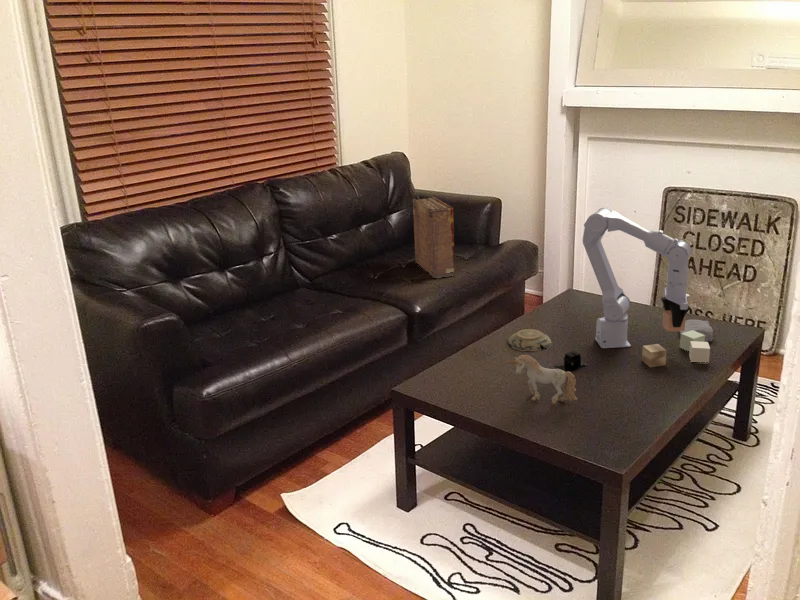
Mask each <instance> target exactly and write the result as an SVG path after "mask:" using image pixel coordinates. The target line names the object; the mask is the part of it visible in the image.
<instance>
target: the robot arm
mask: <svg viewBox="0 0 800 600" xmlns="http://www.w3.org/2000/svg"><path fill="white" fill-rule="evenodd" d="M583 227H584V229H583V235H582V244H583V246H584V249H585V252H586V255H587V257H588V259H589V263H590V265H591V267H592V269H593V272H594V275H595V277H596V280H597V283H598V285H599V288H600V290H601V292H602V294H601V295H602V296H601V302H602V305H603V308H602V309H603V310H602V312H603V313H602V314H603V315H604V316H602V317H599V318H596V322H595V326H596V327H595V328H596V329H595V338H594V339H595V341H596V342H597V344H598V345H599V346H600V348H601V349H610V348H611V349H612V348H613V349H614V348H616V349H617V348H630V347H631V346H632V344H630V342H629V341H628V324H629V315H628V312H627V311H628V310H629V309H630V308H631V305H632V304H631V300H630V298H629V296H628V295H626V294H625V292H624V289H623V288H622V287H621V286H619V285H618V282H617V279H616V276H615V274H614V272H613V269H612V267H611V264H610V262H609V259H608V256H607V254H606V251H605V249H604V247H603V244H602V239H603V236H604V235H605V233H606V231H607V232H608V233H609V232H615V231H621V232H623V233H625V234H627V235H629V236H632V237H634V238H636V239H638V240H641V241H642V242H643V243H644V246H645V247H646V248H648V249H650V250H652V251H653V252H655V253H658V254H660V255H661V256H664V257H666V258H667V261H668V266H667V273H666V274H667V277H666V285H665V286H666V287H664V288H663V294H664V296H663V297H660V300H661V302H662V304H663V308H664V311H666V310H671V313H672V324H673V327H681V324H682V322H683V319H684V317H685V315H687V313H689V310H690V308H691V307H690V306H689V303H688V301H687V299H689V298H690V294H688V293H687V286H688V275H689V257H690V256H691V254H692V248H691V245H690V244H689V243H688V242H687V241H685V240H683V239H681V240H679V239H678V238H676V237H675V238H673V237H671V236H670V235H667V234H665V233H664V231H663V230H661V229H659V230H656V229H653V230H648V229H646V228H645V227H643V226H641V225H639V224H638V223H635V222H634V221H632V220H630V219H629V218H627V217H625V216H623V215H622V214H620V213H619V212H618V211H615V210H612V209H610V208H608V207H601V208H599V209H598V210H597V211H596V212H594V213H592V214H590V215H589V216H588V218H587V220H585V222H584V224H583Z"/></svg>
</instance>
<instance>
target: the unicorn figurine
mask: <svg viewBox="0 0 800 600" xmlns="http://www.w3.org/2000/svg"><path fill="white" fill-rule="evenodd" d="M514 359H515V360H505V363H508V364H515V366H516V370H515V373H516V374H517V375H521V374H522V372H523V371H522V370H523V369H524V368H526V369H527V370H526V371H527V372H526V373H527V374H526V375H527V377H528V380H527V386H528V389H529V391H530V392H531V394H532V395H533V396H532V398H531V399H530V400H531V401H532V400H533V401H532V402H536V400H537V401H540V397H541V393H540V392H539V391H538V389H539V388H538V385H537V383H540V384H544V385H549V384H552V385H553V386H554V388H555V390H556V391H557V393H555V395H553V396H552V397H551V405H552V406H555V404H557V401H558V402H561V403H562V402H563V401H567V400H569V401H570V402H572V400H573V401H578V397H576V395H575V393H576V391H577V389H576V387H575V386H576V382H577V380H576V378H575V375H574V374H573V373H572V372H569V371H567V372H565V371H563V370H561V369H558V368H546V367H543V366H541V364H540V363H539V361H537V360H536V359H535V358H534V357H532V356H530V355H528V354H522V355H519V356H518V357H516V356H514ZM565 383H566V384H565ZM534 395H535V396H534ZM561 395H562V396H561ZM559 396H560V397H559Z"/></svg>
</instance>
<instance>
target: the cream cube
mask: <svg viewBox="0 0 800 600" xmlns="http://www.w3.org/2000/svg"><path fill="white" fill-rule="evenodd" d="M688 353H689V354H688V357H689V361H690V360H691V361H690V363H691V362H700V363H699V364H702V363H701V362H705V363H704V364H708V363H709V364H710V354H711V348H710V344H709V341H705V342H698V341H690V350H689V352H688ZM706 362H708V363H706Z"/></svg>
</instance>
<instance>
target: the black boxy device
mask: <svg viewBox="0 0 800 600" xmlns="http://www.w3.org/2000/svg"><path fill="white" fill-rule="evenodd" d="M589 366H590V364H589V363H587V362H585V361H583V360H582V355H581V353H580V352H577V351H575V350H572V351H570V352H567V353H565V354H564V357H563V363H562V364H558V365H555V366H554V368H555V369H561V370H563V371H565V372H567V371H569V372H571V373H572V372H574V371H577V370H580V369H583V368H585V367H589Z"/></svg>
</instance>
